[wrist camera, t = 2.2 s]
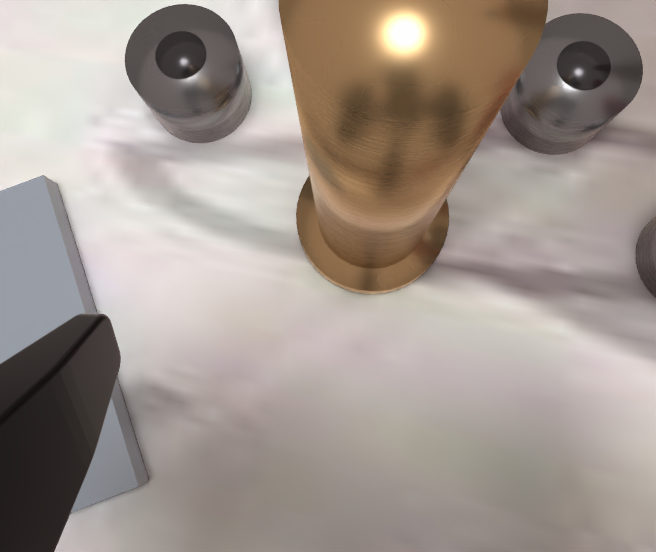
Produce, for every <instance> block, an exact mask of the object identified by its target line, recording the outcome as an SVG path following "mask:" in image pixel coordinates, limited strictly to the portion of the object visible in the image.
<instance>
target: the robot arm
mask: <svg viewBox="0 0 656 552" xmlns="http://www.w3.org/2000/svg"><path fill="white" fill-rule="evenodd" d="M120 360H121V357H120V351H119V347H118V344H117V341H116V337H115V334H114V330H113V327H112V324H111V321H110V319H109V318H108V316H106V315H104V314H90V313H82V314H78V315H76V316H74V317H73V318H71V319H69V320H68V321H66V322H65V323H63V324H62V325H60V326H59V327H57V328H55V329H54V330H52V331H51V332H49V333H48V334H46V335H44V336H43V337H41V338H40V339H38V340H37V341H35V342H33V343H32V344H30V345H29V346H27V347H26V348H24V349H23V350H21V351H19V352H18V353H16V354H15V355H13V356H12V357H10V358H8V359H7V360H5V361H4V362H2V363H1V364H0V552H54V551H55V549H56V546H57V544H58V541H59V539H60V537H61V534H62V532H63V529H64V527H65V525H66V522H67V520H68V517H69V515H70V513H71V510H72V508H73V505H74V503H75V501H76V498H77V496H78V493H79V491H80V489H81V486H82V484H83V481H84V479H85V477H86V474H87V472H88V469H89V467H90V464H91V462H92V459H93V456H94V453H95V450H96V447H97V444H98V441H99V437H100V434H101V430H102V427H103V423H104V420H105V417H106V413H107V410H108V406H109V403H110V399H111V396H112V392H113V389H114V385H115V382H116V379H117V375H118V372H119V368H120Z"/></svg>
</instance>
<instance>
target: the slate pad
mask: <svg viewBox="0 0 656 552" xmlns="http://www.w3.org/2000/svg"><path fill="white" fill-rule="evenodd" d="M82 313H90V314H97V311H96V308H95V305H94V302H93V298H92V295H91V292H90V289H89V285H88V282H87V279H86V276H85V272H84V269H83V266H82V263H81V260H80V256H79V253H78V250H77V247H76V243H75V240H74V237H73V234H72V231H71V227H70V224H69V221H68V218H67V214H66V211H65V208H64V205H63V201H62V198H61V195H60V192H59V189H58V185H57V184H56V183H55V182H53V181H52V180H50V179H48V178H47V177H45V176H44V175H43V176H40V177H37V178H34V179H32V180H29V181H26V182H24V183H21V184H18V185H15V186H13V187H10V188H7V189H5V190H2V191H0V364H1V363H2V362H4V361H5V360H7V359H8V358H10V357H12V356H13V355H15V354H16V353H18V352H19V351H21V350H23V349H24V348H26V347H27V346H29V345H30V344H32V343H33V342H35V341H37V340H38V339H40V338H41V337H43V336H44V335H46V334H48V333H49V332H51V331H52V330H54V329H55V328H57V327H59V326H60V325H62V324H63V323H65V322H66V321H68V320H69V319H71V318H73V317H74V316H76V315H78V314H82ZM147 481H149V479H148V476H147V473H146V469H145V466H144V463H143V460H142V457H141V453H140V450H139V447H138V444H137V440H136V437H135V434H134V431H133V427H132V424H131V421H130V418H129V415H128V411H127V408H126V405H125V402H124V398H123V395H122V392H121V389H120V386H119V382H118V379H116V382H115V385H114V389H113V392H112V396H111V399H110V403H109V406H108V410H107V413H106V417H105V420H104V423H103V427H102V430H101V434H100V437H99V441H98V444H97V447H96V450H95V453H94V456H93V459H92V462H91V464H90V467H89V469H88V472H87V474H86V477H85V479H84V481H83V484H82V486H81V489H80V491H79V493H78V496H77V498H76V501H75V503H74V505H73V508H72V510H71V513H73V512H75V511H78V510H80V509H83V508H85V507H88V506H90V505H93V504H95V503H98V502H101V501H103V500H106V499H108V498H111V497H113V496H116V495H118V494H121V493H124V492H126V491H129V490H131V489H134V488H136V487H139V486H140V485H142V484H144V483H146V482H147Z"/></svg>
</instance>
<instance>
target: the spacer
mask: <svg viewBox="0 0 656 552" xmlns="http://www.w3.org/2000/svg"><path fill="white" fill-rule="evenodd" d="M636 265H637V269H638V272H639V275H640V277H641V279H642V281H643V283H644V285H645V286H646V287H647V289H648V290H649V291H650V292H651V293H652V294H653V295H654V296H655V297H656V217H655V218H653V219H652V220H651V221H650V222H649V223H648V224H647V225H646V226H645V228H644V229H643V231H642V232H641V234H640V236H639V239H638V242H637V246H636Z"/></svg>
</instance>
